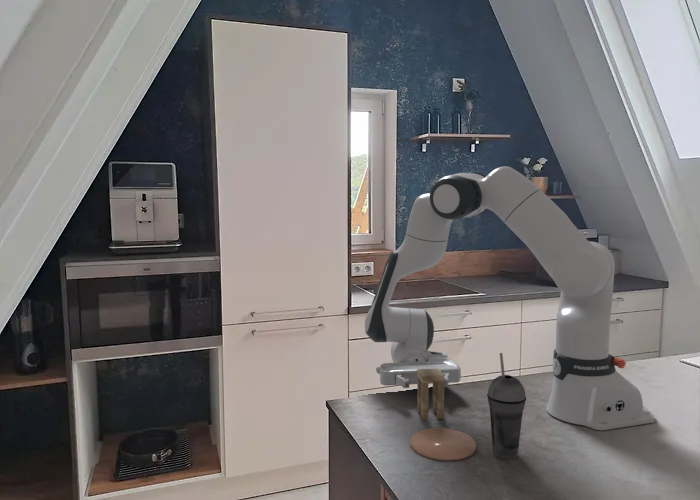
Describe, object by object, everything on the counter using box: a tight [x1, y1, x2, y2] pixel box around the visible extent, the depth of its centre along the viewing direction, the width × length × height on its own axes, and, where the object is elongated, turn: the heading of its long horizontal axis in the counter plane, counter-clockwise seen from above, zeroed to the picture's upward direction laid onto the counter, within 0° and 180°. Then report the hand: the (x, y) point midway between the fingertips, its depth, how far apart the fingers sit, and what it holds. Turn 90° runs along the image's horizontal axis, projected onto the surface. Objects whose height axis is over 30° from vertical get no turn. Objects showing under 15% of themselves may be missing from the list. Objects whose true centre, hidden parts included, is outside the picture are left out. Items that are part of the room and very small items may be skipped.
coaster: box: [410, 427, 477, 462], centre depth 110 cm, size 13×13×1 cm
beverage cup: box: [486, 352, 527, 460], centre depth 105 cm, size 7×7×20 cm
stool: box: [416, 368, 445, 421], centre depth 124 cm, size 5×5×10 cm
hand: (426, 384), depth 129 cm, fingers open, 8 cm apart
